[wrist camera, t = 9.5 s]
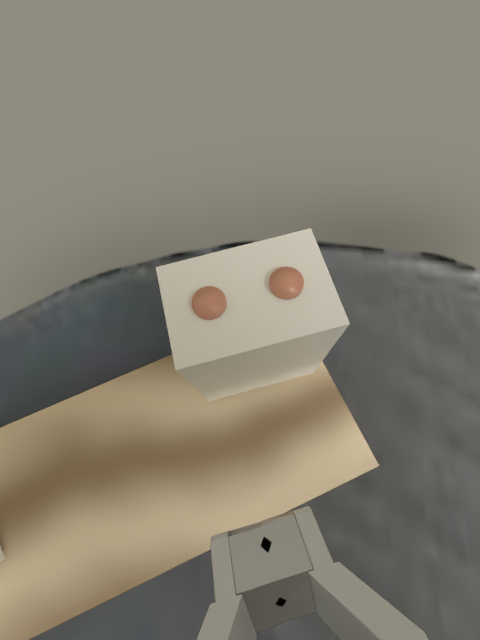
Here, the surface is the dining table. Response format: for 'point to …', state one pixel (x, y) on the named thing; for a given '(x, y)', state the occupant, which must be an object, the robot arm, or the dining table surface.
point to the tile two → (251, 314)
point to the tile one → (1, 555)
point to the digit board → (154, 482)
